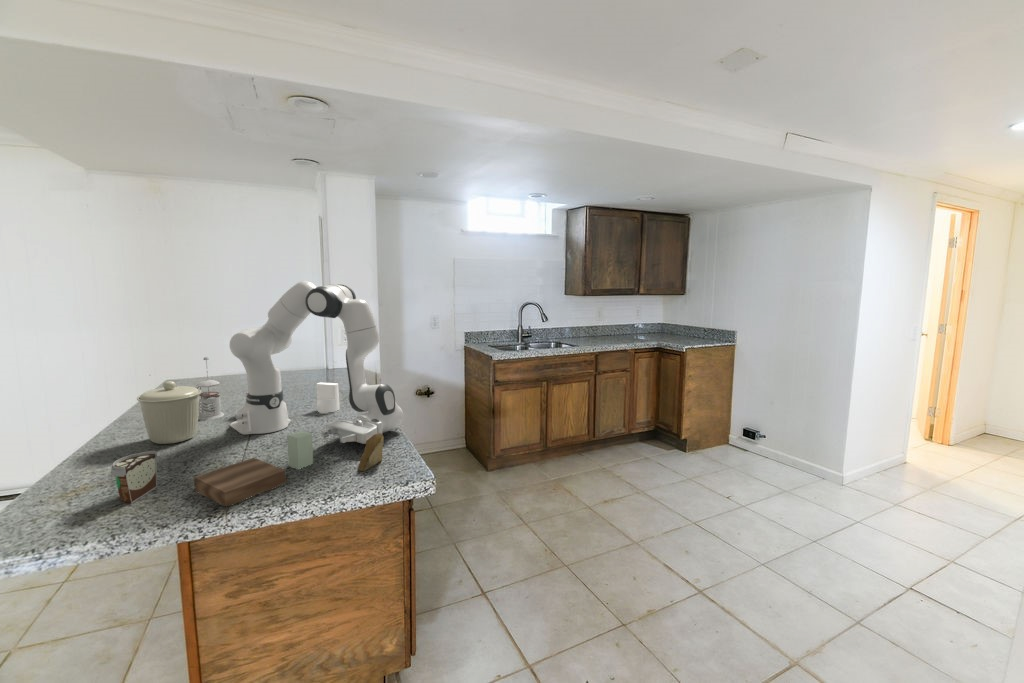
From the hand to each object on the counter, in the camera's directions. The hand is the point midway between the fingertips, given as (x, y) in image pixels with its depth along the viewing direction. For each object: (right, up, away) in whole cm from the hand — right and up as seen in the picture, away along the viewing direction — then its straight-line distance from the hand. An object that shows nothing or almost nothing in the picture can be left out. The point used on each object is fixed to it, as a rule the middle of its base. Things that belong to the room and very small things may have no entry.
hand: (331, 437), depth 149 cm
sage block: (-6, -7, -9) cm, 13 cm away
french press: (-66, +1, +38) cm, 76 cm away
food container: (-41, -9, -30) cm, 51 cm away
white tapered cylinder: (-21, +1, +49) cm, 53 cm away
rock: (+15, -7, -7) cm, 18 cm away
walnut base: (-15, -9, -24) cm, 30 cm away
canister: (-60, -3, +11) cm, 62 cm away
